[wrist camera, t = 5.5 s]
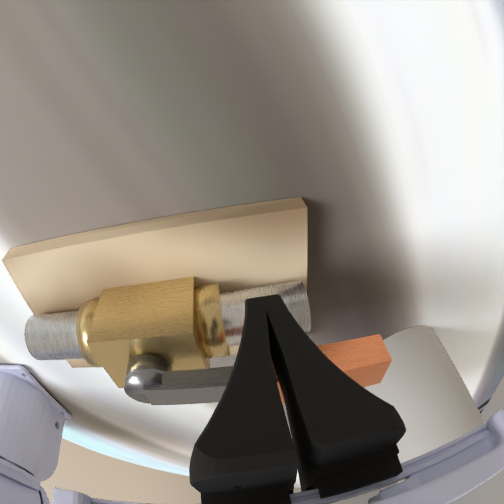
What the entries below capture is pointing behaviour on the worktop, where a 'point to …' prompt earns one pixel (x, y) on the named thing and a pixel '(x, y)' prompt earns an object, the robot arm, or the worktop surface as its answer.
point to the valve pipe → (155, 324)
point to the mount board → (166, 255)
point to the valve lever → (215, 379)
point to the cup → (425, 392)
